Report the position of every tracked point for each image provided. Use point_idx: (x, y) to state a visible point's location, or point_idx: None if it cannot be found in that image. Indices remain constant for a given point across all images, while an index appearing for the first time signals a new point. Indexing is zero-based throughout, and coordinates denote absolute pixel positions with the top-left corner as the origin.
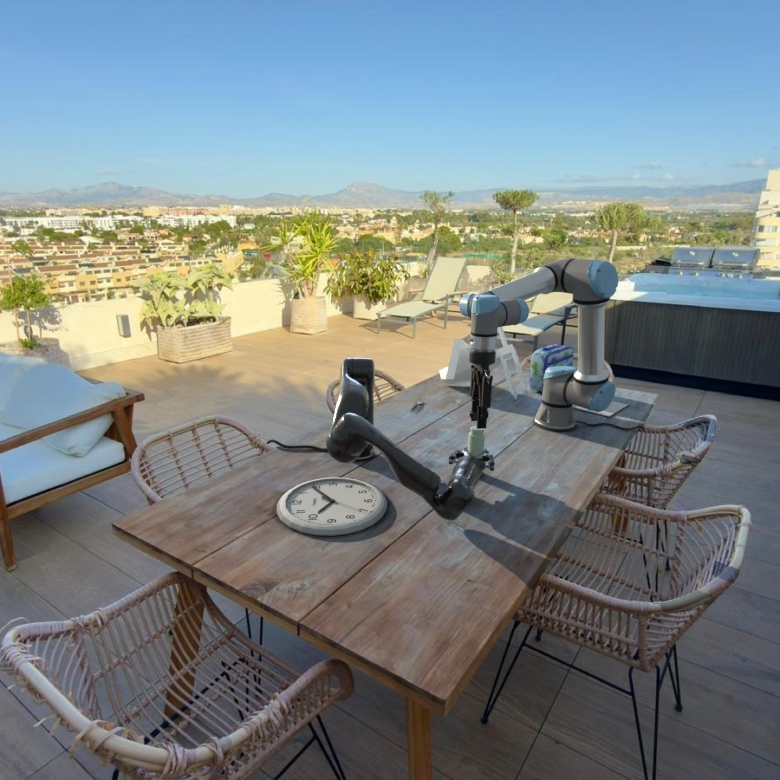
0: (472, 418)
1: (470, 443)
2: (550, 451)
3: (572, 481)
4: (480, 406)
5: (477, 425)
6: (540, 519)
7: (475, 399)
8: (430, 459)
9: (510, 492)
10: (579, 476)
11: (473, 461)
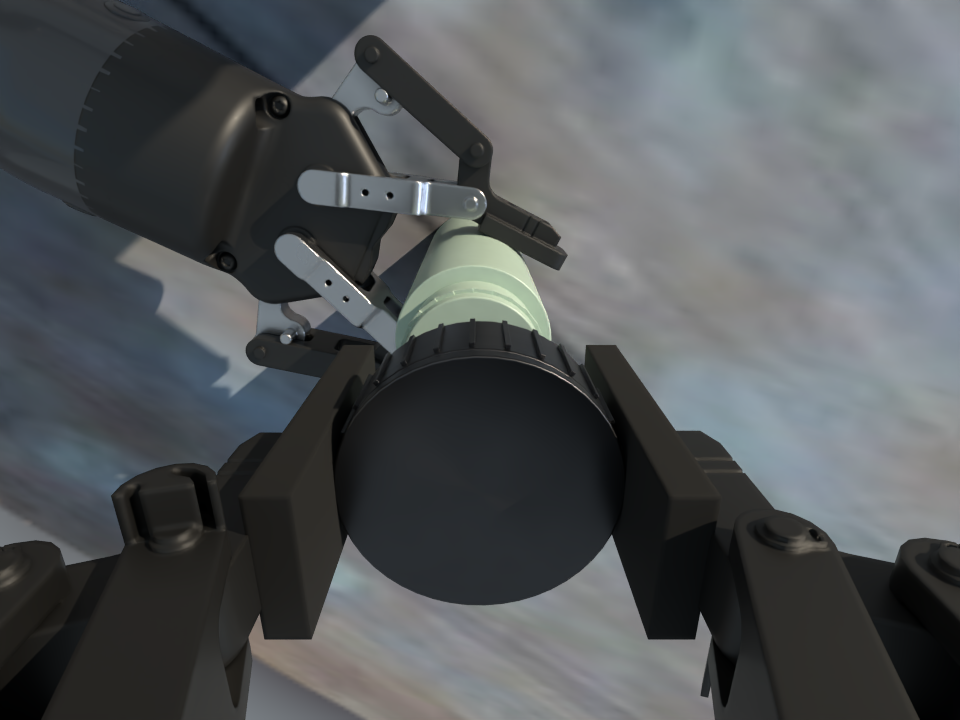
0: (412, 338)
1: (440, 257)
2: (659, 672)
3: (364, 647)
4: (128, 547)
5: (336, 358)
6: (13, 421)
7: (716, 570)
8: (723, 13)
9: (256, 379)
10: (407, 683)
11: (101, 184)
